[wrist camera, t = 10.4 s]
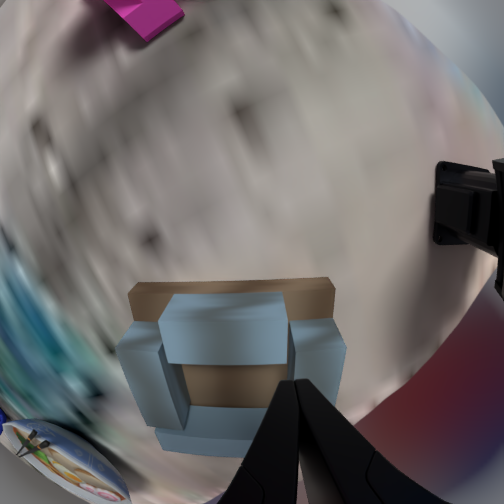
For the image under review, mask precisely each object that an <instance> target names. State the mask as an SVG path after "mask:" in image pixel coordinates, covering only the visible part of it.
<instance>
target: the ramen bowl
mask: <svg viewBox="0 0 504 504" xmlns="http://www.w3.org/2000/svg"><path fill="white" fill-rule="evenodd" d="M2 425H3V430H4V433H5V435H6V436H7V438H8V439H9V441H10V442H11V443H12V445H13V446H14V447H15V448H16V449H17V450H18V453H17V454H16V455H18V454H19V453H20V454H21V456H19V457H22V456H23V457H24V458H25V459H26V460H27V461H28V462H30V463H31V464H32V465H33V466H34V467H36V468H37V469H38V470H39V471H41V472H42V473H43V474H44V475H46V476H47V477H48V478H50V479H51V480H53V481H54V482H56V483H57V484H59V485H61V486H62V487H64V488H65V489H67V490H69V491H71V492H73V493H75V494H77V495H79V496H81V497H83V498H85V499H87V500H89V501H92V502H94V503H97V504H132V503H131V499H130V495H129V491H128V489H127V486H126V484H125V482H124V480H123V478H122V476H121V474H120V473H119V472H118V471H117V469H116V468H115V467H114V466H113V465H112V464H111V463H110V462H109V461H108V460H107V459H106V458H105V457H104V456H103V455H102V454H101V453H99V452H98V451H97V450H96V449H95V448H94V446H92V445H91V444H90V443H89V442H87V441H86V440H85V439H83V438H82V437H80V436H79V435H77V434H75V433H73V432H71V431H68V430H65V429H63V428H61V427H59V426H57V425H54V424H51V423H49V422H46V421H43V420H39V419H23V420H15V421H10V422H7V423H4V424H2Z"/></svg>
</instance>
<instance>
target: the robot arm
mask: <svg viewBox="0 0 504 504" xmlns="http://www.w3.org/2000/svg"><path fill="white" fill-rule="evenodd" d="M492 163H493V169H495V174H493V173H490V172H489V170H487V169H482V168H478V167H473V166H468V165H463V164H457V163H452V162H446V161H440V162H438V164H437V191H436V210H435V224H434V234H433V241H434V243H435V244H437V245H460V244H470V245H472V246H474V247H477V248H479V249H481V250H483V251H485V252H487V253H489V254H491V255H493V256H495V257H497V258H498V266H497V278H496V280H495V286H494V288H495V289H496V291H497V292H498V293H499V295H500V296H501V298H502V299H503V301H504V158H502V159H496V160H492ZM442 166H444V170H443V169H442ZM439 236H440V239H439V240H438V238H439ZM375 450H376V449H375V448H374V447H373V446H372V445H371V444H370V443H369V442H368V441H367V440H366V439H365V438H364V437H363V436H362V435H361V434H360V432H359V431H357V429H356V428H354V426H353V425H352V424H351V423H350V422H349V421H348V420H347V419H346V418H345V417H344V416H343V415H342V414H341V413H340V412H339V411H338V410H337V409H336V408H335V407H334V406H333V405H332V403H331V402H330V401H329V400H328V399H327V398H326V397H325V396H324V395H323V394H322V393H321V392H320V391H319V390H318V389H317V387H316V386H315V385H314V384H313V383H312V382H311V381H310V380H309V379H307V378H302V379H295V380H294V381H293V380H292V379H289V380H280V381H279V383H278V385H277V388H276V390H275V392H274V395H273V397H272V399H271V402H270V404H269V406H268V408H267V411H266V413H265V415H264V417H263V420H262V422H261V424H260V426H259V428H258V430H257V433H256V435H255V437H254V439H253V441H252V443H251V445H250V447H249V449H248V451H247V453H246V455H245V457H244V459H243V461H242V463H241V466H240V467H239V469H238V471H237V473H236V475H235V477H234V478H233V480H232V482H231V483H230V485H229V487H228V488H227V490H226V492H225V493H224V494H223V496H222V497H221V499H220V500H219V501H218V503H217V504H296V501H297V486H298V485H297V484H298V467H299V462H300V466H301V471H302V475H303V480H304V484H305V489H306V493H307V498H308V502H309V504H451V503H449V502H446V501H444V500H442V499H441V498H439V497H437V496H436V495H434V494H432V493H431V492H430V491H428V490H426V489H425V488H423V487H422V486H420V485H419V484H418V483H416V482H415V481H413V480H412V479H410V478H409V477H408V476H406V475H405V474H404V473H402V472H401V471H400V470H398V469H397V468H396V467H395V466H394V465H392V464H391V463H390V462H389V461H388V460H387V459H386V458H385V457H383V455H382V454H381V453H380V452H379V451H377V450H376V451H375Z"/></svg>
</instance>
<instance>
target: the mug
mask: <svg viewBox="0 0 504 504" xmlns="http://www.w3.org/2000/svg"><path fill="white" fill-rule="evenodd" d="M6 420H7V418H6V415H5V414H4V412H3V411H2V409H1V408H0V435H1V433H2V431H3V425H2V424H4V423H6Z"/></svg>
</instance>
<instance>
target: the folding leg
mask: <svg viewBox="0 0 504 504" xmlns="http://www.w3.org/2000/svg"><path fill="white" fill-rule="evenodd" d="M266 411H267V408H224V407H205V406H193V405H189V409H188V413H187V417H186V421H185V425H184V429H183V431H182V430H173V429H165V428H158V427H156V429H155V434H156V436H157V438H158V440H159V442H160V445H161V447H162V449H163V450H166V451H172V452H179V453H186V454H195V455H205V456H218V457H241V458H244V457H245V455H246V453H247V451H248V449H249V447H250V445H251V443H252V441H253V439H254V437H255V435H256V433H257V430H258V428H259V426H260V424H261V422H262V420H263V417H264V415H265V413H266Z"/></svg>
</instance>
